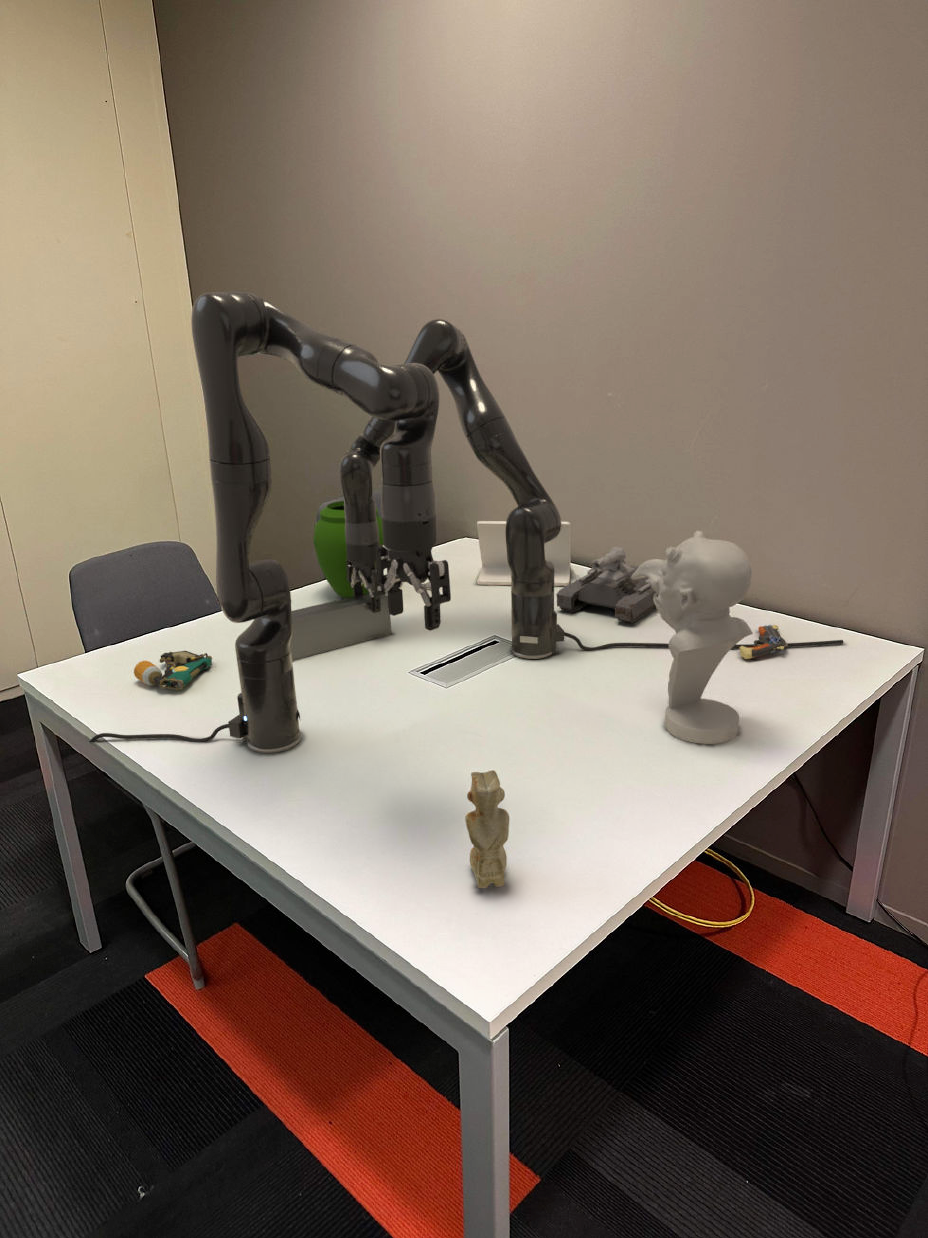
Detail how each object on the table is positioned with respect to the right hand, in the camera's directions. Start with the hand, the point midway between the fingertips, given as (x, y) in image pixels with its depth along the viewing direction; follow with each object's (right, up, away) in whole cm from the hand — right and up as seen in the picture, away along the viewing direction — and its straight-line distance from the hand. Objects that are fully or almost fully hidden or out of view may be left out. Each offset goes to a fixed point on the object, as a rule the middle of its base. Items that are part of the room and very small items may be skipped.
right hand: (367, 607), depth 198 cm
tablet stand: (+39, +9, +42) cm, 58 cm away
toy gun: (+87, -9, -10) cm, 89 cm away
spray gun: (-38, -15, -17) cm, 44 cm away
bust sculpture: (+62, -22, -42) cm, 78 cm away
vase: (-7, +3, +29) cm, 30 cm away
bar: (-7, -8, -2) cm, 11 cm away
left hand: (+15, -3, -73) cm, 74 cm away
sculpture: (+26, -38, -82) cm, 94 cm away
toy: (+61, +1, +17) cm, 63 cm away
